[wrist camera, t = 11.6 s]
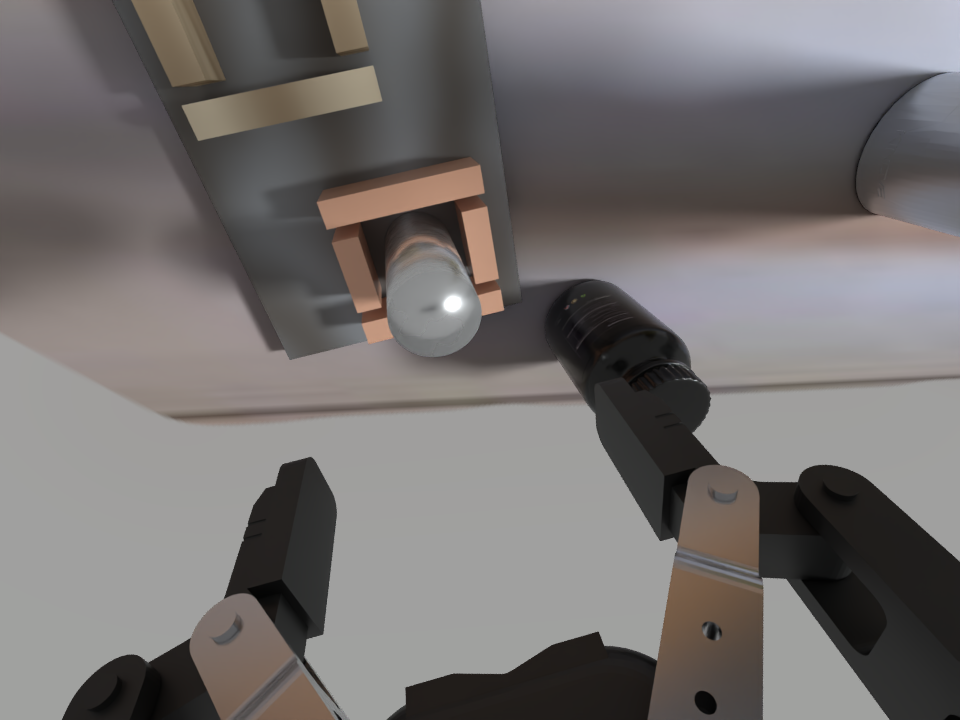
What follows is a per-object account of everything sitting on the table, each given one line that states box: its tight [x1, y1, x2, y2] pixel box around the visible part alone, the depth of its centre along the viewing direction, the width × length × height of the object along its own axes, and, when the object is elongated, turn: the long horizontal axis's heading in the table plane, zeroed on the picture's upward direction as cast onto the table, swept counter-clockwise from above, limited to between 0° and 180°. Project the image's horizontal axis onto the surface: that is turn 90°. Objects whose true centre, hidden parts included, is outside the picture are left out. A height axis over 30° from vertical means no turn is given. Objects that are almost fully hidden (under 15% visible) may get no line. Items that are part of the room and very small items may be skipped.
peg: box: [385, 211, 482, 357], centre depth 23 cm, size 4×4×10 cm
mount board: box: [112, 0, 522, 360], centre depth 23 cm, size 16×23×4 cm
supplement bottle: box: [545, 281, 711, 433], centre depth 29 cm, size 7×7×12 cm
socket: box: [317, 157, 504, 344], centre depth 26 cm, size 8×8×3 cm
